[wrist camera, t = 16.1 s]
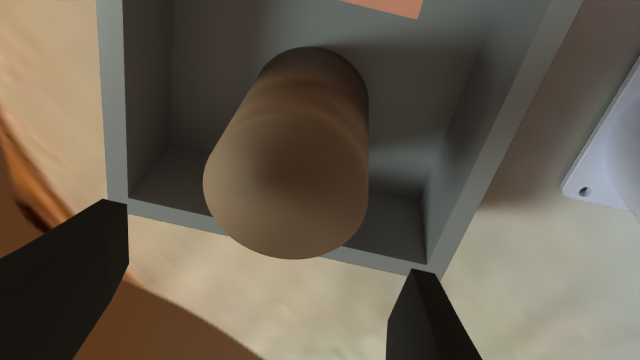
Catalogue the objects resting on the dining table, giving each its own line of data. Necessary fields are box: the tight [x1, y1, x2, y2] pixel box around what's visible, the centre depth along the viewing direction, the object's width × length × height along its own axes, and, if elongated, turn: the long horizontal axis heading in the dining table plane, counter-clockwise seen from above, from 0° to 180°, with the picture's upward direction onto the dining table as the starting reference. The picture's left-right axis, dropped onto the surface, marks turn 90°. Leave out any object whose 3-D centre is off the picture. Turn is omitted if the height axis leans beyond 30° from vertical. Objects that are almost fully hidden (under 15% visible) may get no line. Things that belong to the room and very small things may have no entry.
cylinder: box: [203, 47, 369, 259], centre depth 17 cm, size 5×5×7 cm
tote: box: [96, 0, 584, 281], centre depth 16 cm, size 14×18×5 cm
